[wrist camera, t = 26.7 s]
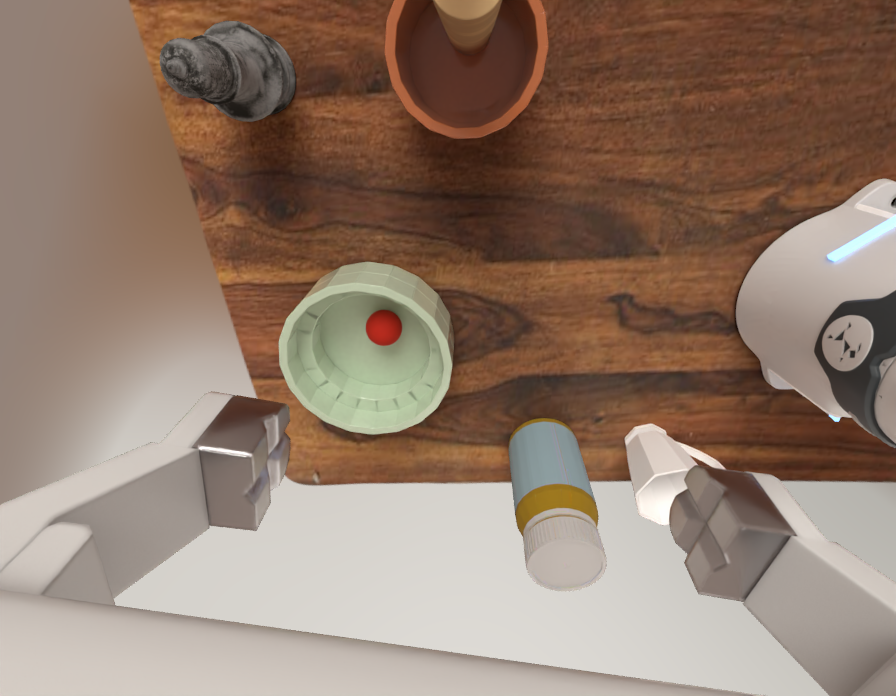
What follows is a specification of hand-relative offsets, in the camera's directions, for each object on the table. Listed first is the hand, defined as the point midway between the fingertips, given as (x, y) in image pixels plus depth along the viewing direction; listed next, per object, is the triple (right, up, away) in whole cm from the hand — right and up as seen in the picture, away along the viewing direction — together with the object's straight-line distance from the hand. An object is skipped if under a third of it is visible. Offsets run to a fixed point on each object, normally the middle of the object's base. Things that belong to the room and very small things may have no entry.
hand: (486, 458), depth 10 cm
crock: (+1, +23, +24) cm, 33 cm away
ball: (-6, +4, +32) cm, 33 cm away
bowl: (-7, +4, +35) cm, 36 cm away
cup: (+21, -7, +40) cm, 46 cm away
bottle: (+9, -8, +40) cm, 42 cm away
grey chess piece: (-15, +22, +26) cm, 37 cm away
